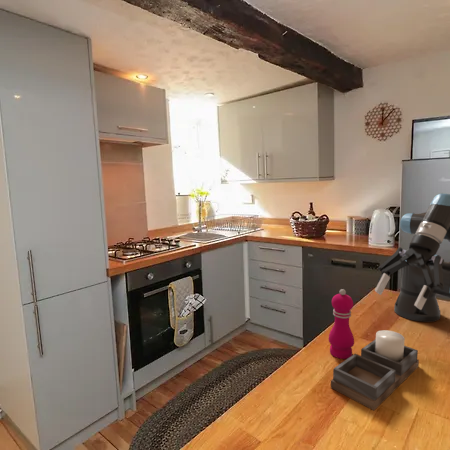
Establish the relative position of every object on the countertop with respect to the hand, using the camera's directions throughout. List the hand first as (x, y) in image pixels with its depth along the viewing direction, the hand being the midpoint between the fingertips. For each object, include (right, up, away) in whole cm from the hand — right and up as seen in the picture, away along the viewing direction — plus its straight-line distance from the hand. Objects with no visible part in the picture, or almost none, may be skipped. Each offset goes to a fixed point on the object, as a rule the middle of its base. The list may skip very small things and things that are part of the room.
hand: (396, 299), depth 100 cm
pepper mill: (-17, -16, -1) cm, 23 cm away
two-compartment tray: (-12, -17, -13) cm, 25 cm away
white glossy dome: (-7, -15, -8) cm, 18 cm away
